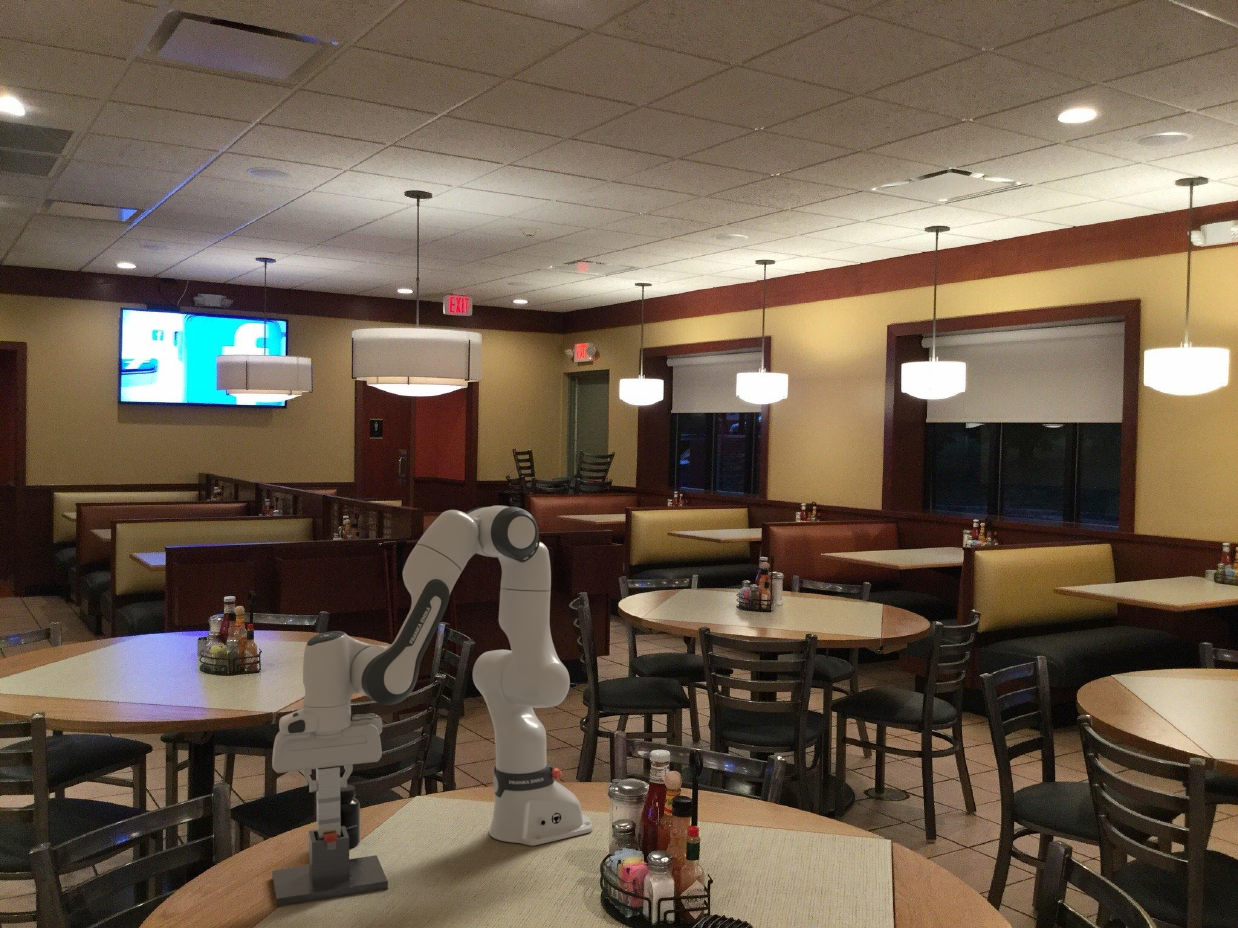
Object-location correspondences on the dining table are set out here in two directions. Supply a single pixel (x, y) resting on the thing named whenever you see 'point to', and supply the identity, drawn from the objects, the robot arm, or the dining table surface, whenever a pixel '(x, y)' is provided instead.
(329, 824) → the column
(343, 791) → the supplement bottle
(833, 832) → the dining table surface
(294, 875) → the stand
